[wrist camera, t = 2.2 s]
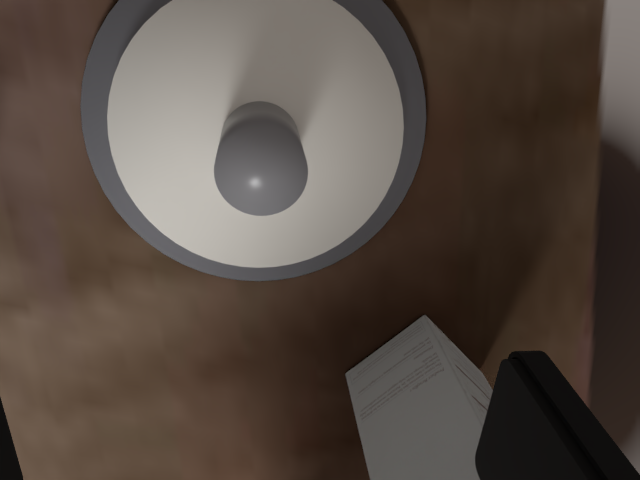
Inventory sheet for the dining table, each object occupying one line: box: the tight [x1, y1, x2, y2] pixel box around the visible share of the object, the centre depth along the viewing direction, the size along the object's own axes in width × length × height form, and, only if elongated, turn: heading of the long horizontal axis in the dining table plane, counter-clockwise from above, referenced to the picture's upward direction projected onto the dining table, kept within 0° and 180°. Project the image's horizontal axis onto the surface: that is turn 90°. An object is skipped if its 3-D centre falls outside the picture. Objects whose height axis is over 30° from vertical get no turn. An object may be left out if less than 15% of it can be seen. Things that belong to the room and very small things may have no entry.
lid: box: [107, 0, 404, 268], centre depth 25 cm, size 15×15×6 cm
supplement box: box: [345, 315, 493, 480], centre depth 31 cm, size 7×7×13 cm
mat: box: [81, 0, 426, 281], centre depth 28 cm, size 18×18×1 cm
